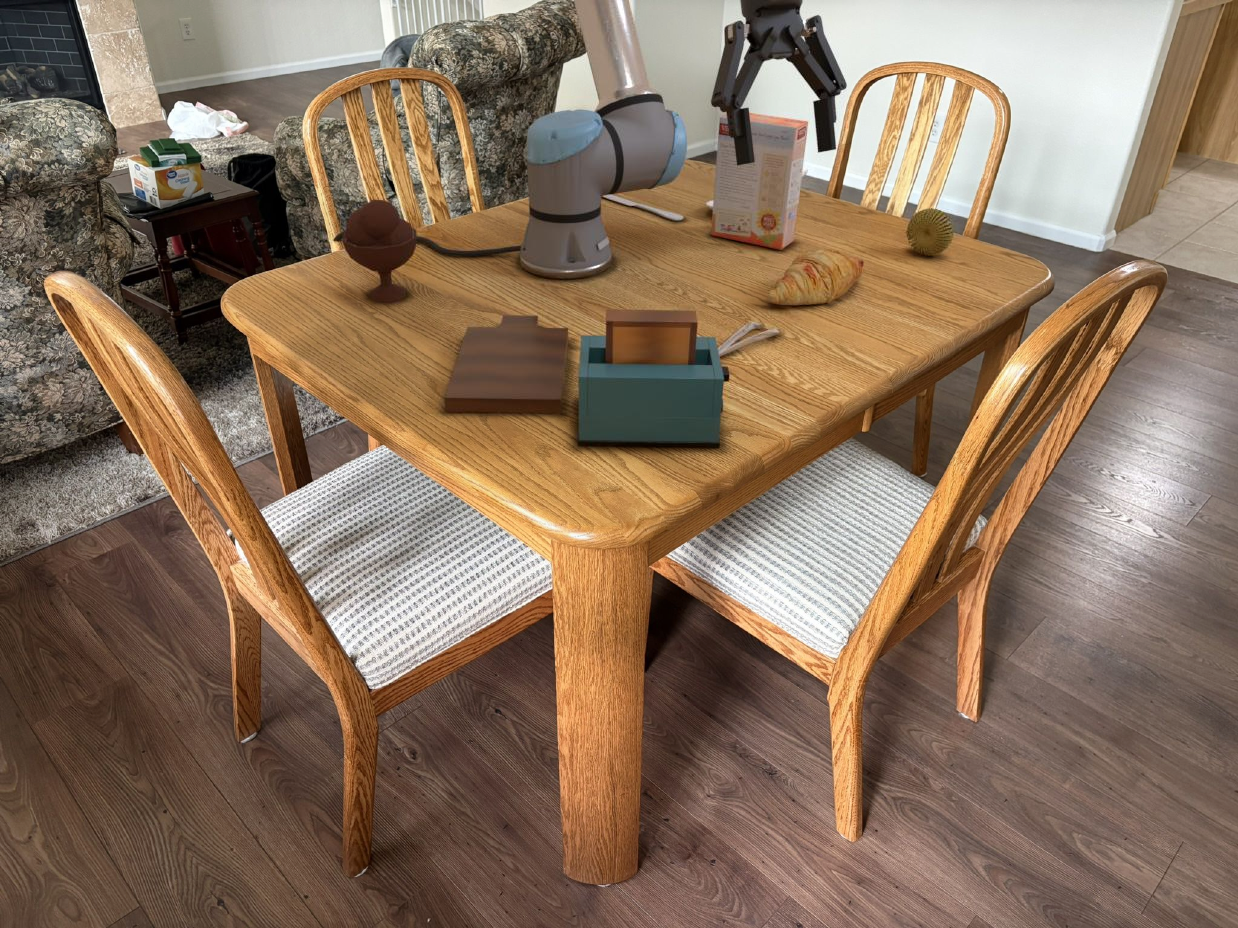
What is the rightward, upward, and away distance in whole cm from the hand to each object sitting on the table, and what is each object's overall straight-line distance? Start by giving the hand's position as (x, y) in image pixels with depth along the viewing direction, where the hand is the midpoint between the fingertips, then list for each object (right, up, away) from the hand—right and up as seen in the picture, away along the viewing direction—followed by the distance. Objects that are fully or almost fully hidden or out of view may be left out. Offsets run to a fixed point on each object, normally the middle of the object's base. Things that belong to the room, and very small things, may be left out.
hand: (787, 157), depth 117 cm
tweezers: (-6, -24, +8) cm, 26 cm away
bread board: (-36, -27, +3) cm, 45 cm away
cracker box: (+2, +1, +45) cm, 45 cm away
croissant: (+9, -13, +25) cm, 30 cm away
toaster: (-18, -35, -9) cm, 40 cm away
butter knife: (-19, +11, +60) cm, 63 cm away
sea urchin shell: (+31, -3, +40) cm, 51 cm away
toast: (-18, -31, -11) cm, 38 cm away
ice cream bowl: (-57, -14, +22) cm, 63 cm away
